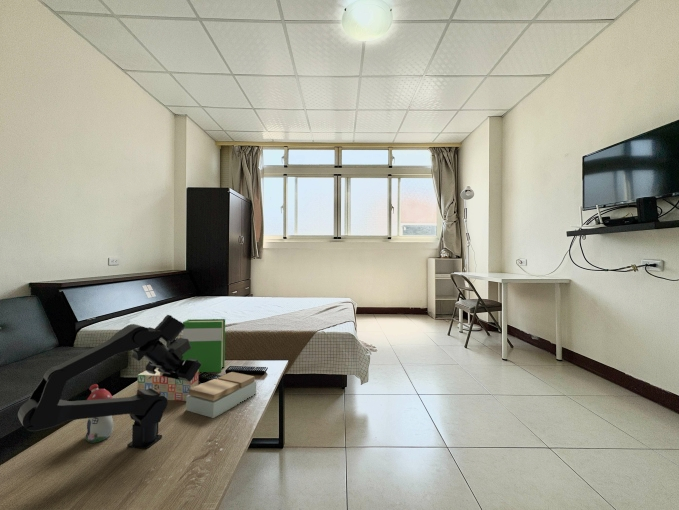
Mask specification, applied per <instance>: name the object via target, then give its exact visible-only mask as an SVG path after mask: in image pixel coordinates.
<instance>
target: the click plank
mask: <svg viewBox="0 0 679 510" xmlns="http://www.w3.org/2000/svg"><path fill="white" fill-rule="evenodd" d="M238 389H239V384H237V383H232V382H228V381H223V380H218V378H214V379H211V380H208V381H206V382H203V383H201V384H198V386H195V387H193V388H190V389H189V395H192V396H196V397H200V398H204V399H208V400H212V401H215V400H217V399H219V398H221V397H223V396H226V395H228V394H230V393H232V392H234V391H236V390H238Z"/></svg>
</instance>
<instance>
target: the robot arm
mask: <svg viewBox="0 0 679 510" xmlns="http://www.w3.org/2000/svg"><path fill="white" fill-rule="evenodd" d="M162 319H163V320H162V321H160V322H159V324H157V325H156V327H151V326H150V327H146V326H142V325H139V324H135V323H131V324H128V325H126V326H124V327H123V328H121V329H119V330H118V331H117V332H116V333H114V334H113V335H112V336H111V337H110V338H108V340H106V341H104V342H103V343H100V344H98V345H96V346H94V347H92V348H90V349H89V350H86V351H84V352H82V353H80V354H79V355H76V356H74V357H72V358H70V359H67V360H66V361H64V362H63V363H60V364H58V365H55V366H52V367H50V368H49V369H47V370H46V371H45V373H44V375H43V377H42V378H41V380H40V382H39V383H38V384H37V385H36V387H35V388H34V390H33V391H32V393H31V395H30V396H29V398H28V400H27V401H25V402H24V403H23V404H22V405H20V408H19V410H17V411H18V412H17V417H18V419H19V421H20V423H21V425H22V427H23V428H25V430H27V431H29V432H39V431H43V430H47V429H50V428H51V429H52V428H54V427H57V426H60V425H62V424H64V423H66V422H69V421H75V420H83V419H88V418H96V417H105V416H112V417H113V416H124V415H129V417H130V419H131V420H133V421H134V422H133V424H132V429H131V430H132V431H131V432H132V433H131V435H132V436H131V441H130V442H128V443H127V444H126V445H127V446H126V447H127V448H136V449H145V450H146V449H148V448H150V447H151V446H153V445H154V444H155V443H156V442H157V441H159V440H161V439H162V438H163V435H162V434H159V423H160V422H161V421H162V418H163V415H164V413H165V410H166V409H167V408H168V403H169V400H167V399H166V397H164V396H163V395H161V394H160V393H158V392H156V391H155V390H153V389H151V388H149V389H147V390H141V389H138V388H137V390H136V394H133V395H132V396H126V397H113V398H110V399H96V400H87V399H84V400H72V401H71V400H70V401H69V400H66V399H65V400H64V399H62V398H61V397H62V393H63V390H64V387H65V385H66V383H67V382H68V381H70V380H72V379H73V378H76V377H77V376H79V375H81V374H83V373H85V372H86V371H88V370H90V369H91V368H94V367H95V366H98V365H100V364H101V363H103V362H105V361H107V360H109V359H110V358H113V357H114V356H116V355H119V354H123V353H127V352H131V351H132V354H131V358H132V359H134V360H136V361H138V362H139V361H141V360H142V359H143V358H145V359H146V360H147V361H148V363H147V364H146V366H145V371H147V372H149V373H151V374H155V373H156V371H155V370H158V371H159V372H162V373H163V375H162V376H164V377H168V378H173V379H178V380H184V381H191V380H192V379H193V377H194V376H195V374H196V373H197V371H198V369H199V368H200V366H201V363H200V362H199V361H198V360H195V359H187V360H186V361H185V360H182V358H183V356H182V355H183V354H184V353H185V352H186V351H188V350H189V349H191V345H190V343H189V340H188V339H184V338H183V337H179V336H180V334H181V333H183V330H184V329H185V325H184V324H183V322H182V321H180V320H178V319H176V318H175V317H173V316H172V315H170V314H166V316H165V317H164V318H162ZM178 337H179V338H178ZM164 343H166V345H165V344H164Z"/></svg>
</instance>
